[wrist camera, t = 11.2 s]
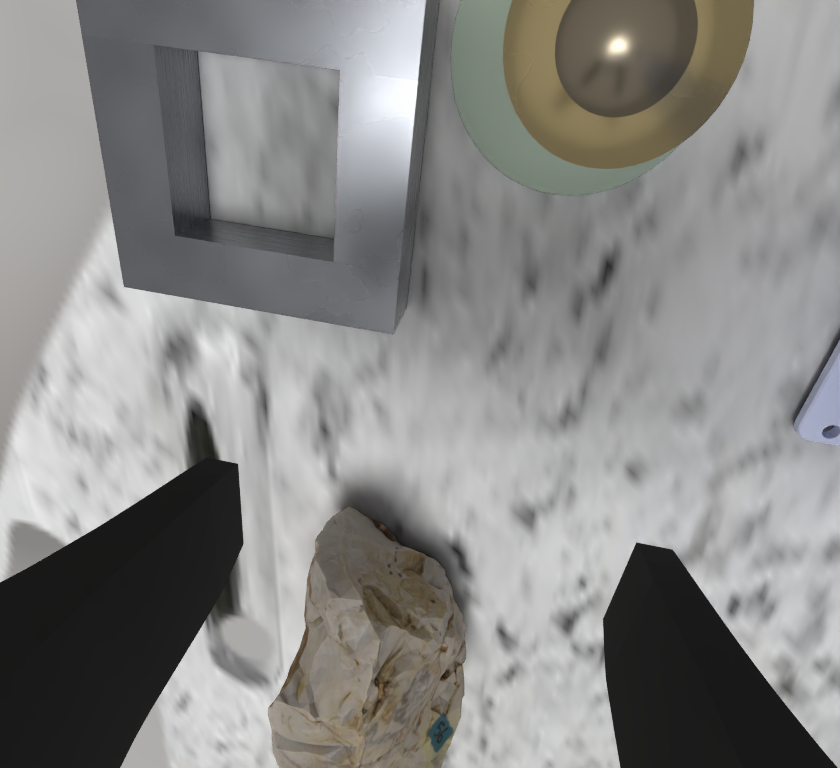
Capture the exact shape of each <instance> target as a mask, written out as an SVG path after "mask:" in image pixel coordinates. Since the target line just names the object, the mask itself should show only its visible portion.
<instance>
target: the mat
mask: <svg viewBox="0 0 840 768" xmlns="http://www.w3.org/2000/svg"><path fill="white" fill-rule="evenodd" d="M511 3H512V0H461V2H460V6H459V9H458V12H457V16H456V19H455V25H454V31H453V36H452V46H451V77H452V84H453V90H454V96H455V100H456V103H457V107H458V110H459V114H460V116H461V119H462V121H463V123H464V126H465V128H466V130H467V132H468V134H469V135H470V137H471V139H472V140H473V142H474V144H475V145H476V147H477V148H478V149H479V150H480V152H481V153H482V154H483V156H484V157H485V158H486V159H487V160H488V161H489V162H490V163H491V164H492V165H493V166H494V167H495V168H496V169H498V170H499V171H500V172H502V173H503V174H504V175H506V176H507V177H508V178H510V179H512V180H514V181H516V182H517V183H519V184H521V185H523V186H526V187H528V188H531V189H534V190H536V191H540V192H545V193H549V194H555V195H568V196H571V195H587V194H592V193H598V192H603V191H606V190H609V189H612V188H615V187H618V186H621V185H623V184H625V183H627V182H630V181H632V180H634V179H636V178H637V177H639V176H641V175H642V174H644V173H646V172H648V171H649V170H651V169H652V168H653V167H655V166H656V165H657V164H659V163H660V162H661V161H663V160H664V159H665V158H666V157H667V156H668V155H669V154H671V153H672V152H673V151H674V150H675V149H676V148H677V147H678V146H679V145H678V146H677V147H675V148H673V149H672V150H670V151H668V152H667V153H665V154H663V155H661V156H659V157H656V158H654V159H652V160H650V161H647V162H644V163H641V164H638V165H634V166H629V167H624V168H616V169H596V168H588V167H583V166H579V165H575V164H573V163H570V162H567V161H565V160H562V159H561V158H559V157H557V156H555V155H553V154H552V153H550V152H549V151H548V150H546V149H545V148H544V147H542V146H541V145H540V144H539V143H538V142H537V141H536V140H535V139H534V138H533V137H532V136H531V135H530V134H529V132H528V131H527V130H526V128H525V127H524V126H523V124H522V123H521V121H520V119H519V117H518V116H517V114H516V112H515V110H514V107H513V105H512V102H511V100H510V97H509V94H508V90H507V86H506V82H505V75H504V67H503V41H504V32H505V26H506V21H507V16H508V12H509V9H510V6H511Z"/></svg>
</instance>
